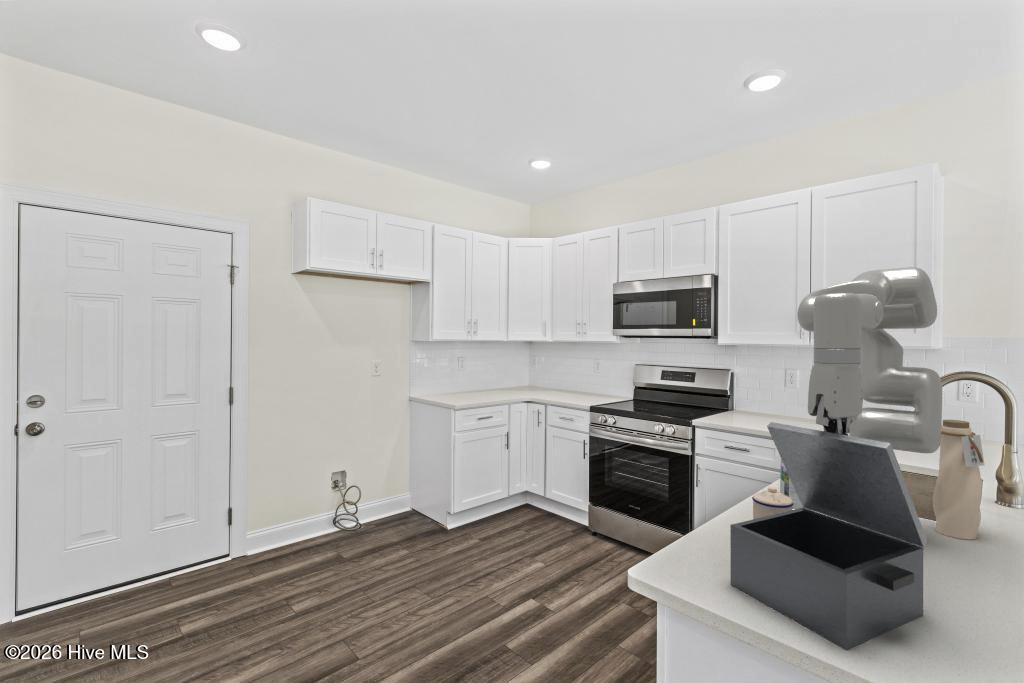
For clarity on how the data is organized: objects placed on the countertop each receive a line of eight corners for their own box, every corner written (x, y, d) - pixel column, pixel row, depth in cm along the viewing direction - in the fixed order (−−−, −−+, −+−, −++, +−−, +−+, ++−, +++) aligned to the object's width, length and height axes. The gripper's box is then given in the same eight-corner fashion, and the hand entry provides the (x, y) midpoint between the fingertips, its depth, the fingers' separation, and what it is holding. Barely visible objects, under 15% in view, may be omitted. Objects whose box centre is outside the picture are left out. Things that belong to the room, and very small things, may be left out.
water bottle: (997, 540, 115) (997, 424, 115) (971, 545, 112) (972, 426, 112) (947, 524, 125) (948, 417, 125) (923, 528, 122) (923, 419, 122)
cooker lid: (802, 507, 104) (814, 494, 106) (923, 547, 84) (935, 530, 86) (766, 426, 99) (779, 413, 101) (886, 448, 79) (899, 432, 81)
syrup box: (779, 502, 142) (779, 454, 141) (801, 504, 140) (801, 455, 140) (784, 509, 136) (784, 458, 136) (808, 511, 134) (808, 460, 134)
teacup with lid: (779, 545, 113) (779, 496, 113) (744, 531, 121) (744, 485, 121) (808, 534, 119) (808, 487, 119) (772, 522, 127) (772, 478, 127)
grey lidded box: (792, 557, 107) (792, 504, 107) (939, 622, 82) (940, 553, 82) (720, 579, 98) (720, 520, 97) (863, 659, 73) (863, 581, 73)
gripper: (840, 356, 98) (840, 445, 98) (792, 358, 92) (792, 453, 92) (881, 357, 91) (881, 453, 91) (832, 360, 85) (832, 463, 85)
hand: (836, 453), depth 92 cm, fingers closed
